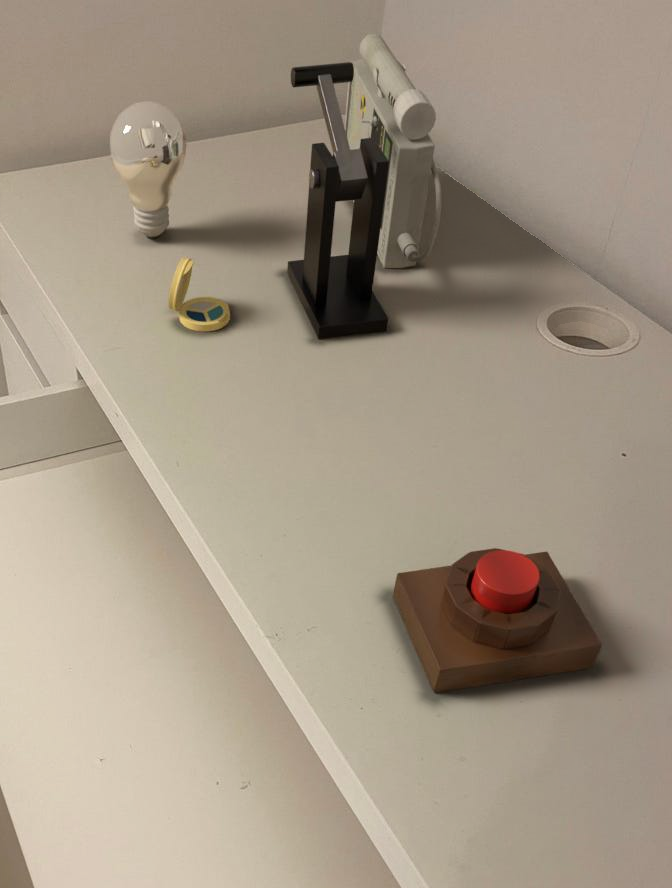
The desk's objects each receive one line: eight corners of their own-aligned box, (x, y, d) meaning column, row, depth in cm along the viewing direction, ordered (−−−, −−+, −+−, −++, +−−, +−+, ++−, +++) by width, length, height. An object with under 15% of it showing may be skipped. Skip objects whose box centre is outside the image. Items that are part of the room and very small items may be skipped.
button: (518, 566, 60) (525, 545, 58) (542, 609, 57) (550, 589, 56) (461, 574, 59) (467, 554, 58) (483, 618, 57) (490, 598, 56)
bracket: (287, 273, 89) (295, 127, 80) (350, 266, 90) (366, 120, 80) (318, 339, 82) (331, 187, 72) (386, 331, 83) (409, 179, 73)
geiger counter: (341, 22, 91) (408, 135, 75) (408, 18, 92) (489, 129, 76) (329, 173, 102) (386, 300, 86) (389, 168, 102) (456, 294, 86)
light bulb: (153, 262, 91) (146, 127, 82) (101, 238, 94) (88, 106, 85) (203, 234, 94) (201, 101, 85) (151, 211, 97) (144, 81, 88)
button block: (538, 574, 64) (554, 530, 61) (592, 668, 59) (612, 624, 56) (392, 596, 63) (400, 552, 60) (433, 693, 58) (445, 650, 55)
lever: (288, 82, 81) (293, 58, 79) (346, 77, 82) (352, 52, 80) (318, 204, 78) (323, 182, 76) (378, 197, 79) (385, 175, 76)
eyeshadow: (222, 334, 83) (222, 281, 79) (166, 326, 84) (163, 272, 80) (235, 307, 86) (236, 254, 82) (181, 299, 87) (180, 246, 83)
